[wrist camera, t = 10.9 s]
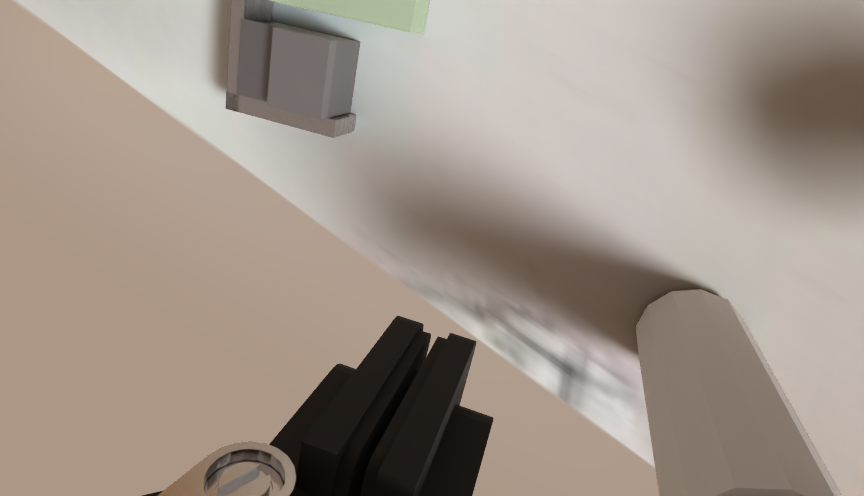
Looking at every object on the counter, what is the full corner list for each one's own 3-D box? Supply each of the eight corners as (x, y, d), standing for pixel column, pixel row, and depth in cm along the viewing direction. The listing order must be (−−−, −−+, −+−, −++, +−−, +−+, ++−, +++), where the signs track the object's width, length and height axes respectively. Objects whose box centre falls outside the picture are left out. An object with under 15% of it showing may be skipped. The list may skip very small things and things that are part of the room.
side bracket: (261, -3, 39) (231, -8, 36) (369, 21, 38) (348, 18, 35) (253, 104, 42) (225, 108, 39) (353, 131, 41) (333, 137, 38)
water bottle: (608, 336, 40) (627, 696, 18) (685, 260, 37) (828, 581, 14) (709, 411, 40) (859, 873, 18) (796, 340, 37) (1117, 797, 14)
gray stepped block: (273, 21, 40) (232, 17, 35) (361, 41, 39) (330, 40, 34) (267, 90, 42) (227, 95, 37) (351, 112, 40) (320, 119, 36)
